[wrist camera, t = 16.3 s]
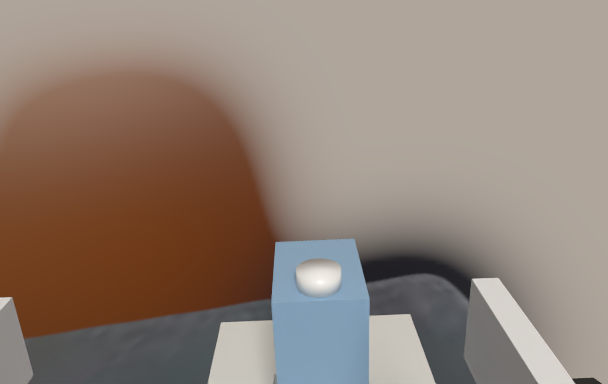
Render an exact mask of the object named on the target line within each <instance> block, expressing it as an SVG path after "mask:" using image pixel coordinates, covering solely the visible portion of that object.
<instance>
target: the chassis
mask: <svg viewBox="0 0 608 384" xmlns="http://www.w3.org/2000/svg"><path fill="white" fill-rule="evenodd" d="M208 384H277V375H276V361H275V347H274V333H273V320H269V321H247V322H224V323H221V326H220V330H219V335H218V340H217V344H216V349H215V353H214V358H213V362H212V367H211V371H210V376H209V380H208ZM369 384H435V381H434V378H433V376H432V373H431V370H430V367H429V365H428V362H427V359H426V357H425V354H424V351H423V348H422V346H421V343H420V340H419V338H418V335H417V332H416V329H415V327H414V324H413V321H412V319H411V316H410V314H403V315H380V316H369Z"/></svg>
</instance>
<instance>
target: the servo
mask: <svg viewBox="0 0 608 384" xmlns="http://www.w3.org/2000/svg"><path fill="white" fill-rule="evenodd" d="M271 305H272V319H273V333H274V347H275V361H276V375H277V384H369V295H368V291H367V287H366V283H365V279H364V275H363V272H362V267H361V263H360V259H359V256H358V252H357V248H356V244H355V240H354V239H339V240H315V241H293V242H276V245H275V260H274V274H273V288H272V302H271Z"/></svg>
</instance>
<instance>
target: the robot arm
mask: <svg viewBox="0 0 608 384" xmlns="http://www.w3.org/2000/svg"><path fill="white" fill-rule="evenodd" d="M464 358H465V361H466V363H467V365H468V367H469V369H470V371H471V373H472V375H473V377H474V379H475V381H476V384H601V383H600V382H599V381H597V380H596V379H594V378H578V379H571V377H570V376H569V375H568V373H567V372H566V370H565V369H564V368H563V366H562V365H561V363H560V362H559V361H558V360H557V358H556V357H555V355H554V354H553V352H552V351H551V350H550V348H549V347H548V346H547V344H546V343H545V341H544V340H543V339H542V337H541V336H540V335H539V333H538V332H537V331H536V330H535V328H534V326H533V325H532V324H531V322H530V321H529V319H528V318H527V317H526V315H525V314H524V313H523V311H522V310H521V309H520V307H519V306H518V304H517V303H516V302H515V300H514V299H513V297H512V296H511V295H510V293H509V292H508V291H507V289H506V288H505V287H504V285H503V284H502V283H501V281H500V280H499V278H485V279H484V278H483V279H472V282H471V292H470V301H469V311H468V321H467V330H466V340H465V349H464ZM32 376H33V372H32V368H31V364H30V361H29V357H28V353H27V350H26V346H25V342H24V339H23V335H22V331H21V328H20V324H19V320H18V317H17V313H16V309H15V306H14V303H13V299H12V297H5V298H0V384H28V383H29V381H30V379H31V378H32Z"/></svg>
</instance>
